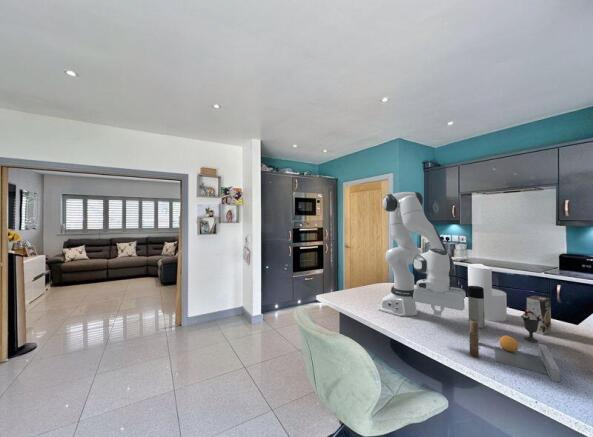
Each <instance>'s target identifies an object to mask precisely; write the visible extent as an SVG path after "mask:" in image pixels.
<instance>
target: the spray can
mask: <svg viewBox="0 0 593 437" xmlns="http://www.w3.org/2000/svg"><path fill="white" fill-rule="evenodd" d="M467 296H468V298H467V299H468V300H467V301H468V302H467V304H468V305H467V307H468V324H469V326H470V321H476V322H478V329H479V328H480V329H483V328H485V324H486V323H485V320H484V288H482V287H480V286H468V285H467Z"/></svg>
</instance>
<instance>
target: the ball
mask: <svg viewBox="0 0 593 437" xmlns="http://www.w3.org/2000/svg"><path fill="white" fill-rule="evenodd" d="M498 343H499V345H500V347H501V348H503V349H504V350H506V351H509V352H514V351H518V348H519V344H518V341H517V340H516V339H515V338H513V337H512V336H509V335H503V336H502V335H501V337H500V338H499V342H498Z"/></svg>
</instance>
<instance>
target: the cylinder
mask: <svg viewBox="0 0 593 437" xmlns="http://www.w3.org/2000/svg"><path fill="white" fill-rule="evenodd" d="M492 271H493V270H492V269H491V267H488V266H487V265H485V264H483V263H468V264H467V287H468V286H480V287H482V288H484V321H490V322H505V321H507V319H508V317H507V316H508V315H507V314H508V312H507V310H508V309H507V292H505V291H503V290H501V289H496V288H493V281H492V280H493V279H492V278H493V277H492V276H493V274H492Z"/></svg>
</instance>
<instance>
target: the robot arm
mask: <svg viewBox="0 0 593 437" xmlns="http://www.w3.org/2000/svg"><path fill="white" fill-rule="evenodd" d="M423 204H424V197H423V195H422V193H421V192H420V191H419V192H418V191H402V192H395V193H388V194H385V195H384V196H383V198H382V207H383V210H385V212H389V227H390V234H391V237H392V238H391V239H393V240H394V241H395V242H396V244H397V246H396V247H392V248H390V249H388V250H386V252H385V255H384V258H385V261H386V263H387V264H388V265H389V266H390V267H391V270H392V272H393V283H394V284H393V285H392V286H391V287H390V293H388V294H386V295H385V296H383V298H382V299H381V303H379V304H378V305H377V310H378V311H381V312H384V313H386V314H387V313H388V314H391V315H393V316H394V315H395V316H398V317H413V316H416V315H418V308H417V305H416V303H421V304H425V305H430V307H431V310H432V311H433V315H434V316H439V317H441V316H442V313H443V312H444V310H445V308H448V309H452V310H456V311H461V312H462V311H464V310H465V306H466V305H465V299H466V298H467V297H466V296H467V294H466V291H465V290H464V289H462V288H460V287H454V286H450V282H451V281H450V280H451V279H450V276H449V275H450V274H449V273H451V271H452V270H453V269H454V265H455V263H454V259H453V258H452V256H451V254H450V253H449V252H448V251H447V248H446V246H445V244H444V242H443V240H442V238H441V236H440V234H439V231H438V230H437V228H436V226H435V225H434V224H433V223H431V222H430V221H429V220H428V219H427V217H426V215H425V211H424V208H423ZM412 233H415V234H418V235H420V236H423V237H424V238H426V239H427V240H428V243H429V245H430V247H431V248H429V249H428V250H427V251H426V252H422V251H421V249H419V247H418V246H417V245H416V243H415V241H414V239H413V236H412ZM409 265H413V268H414V270H415V271H416V272H418V273H420V274H426V275H427V276H426V278H424V279H419V280H417V281H416V283H415V276H414V274H413V273H412V272H411V271H410V267H409ZM415 286H416V287H415ZM436 306H437V307H440V310H437V309H436Z"/></svg>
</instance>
